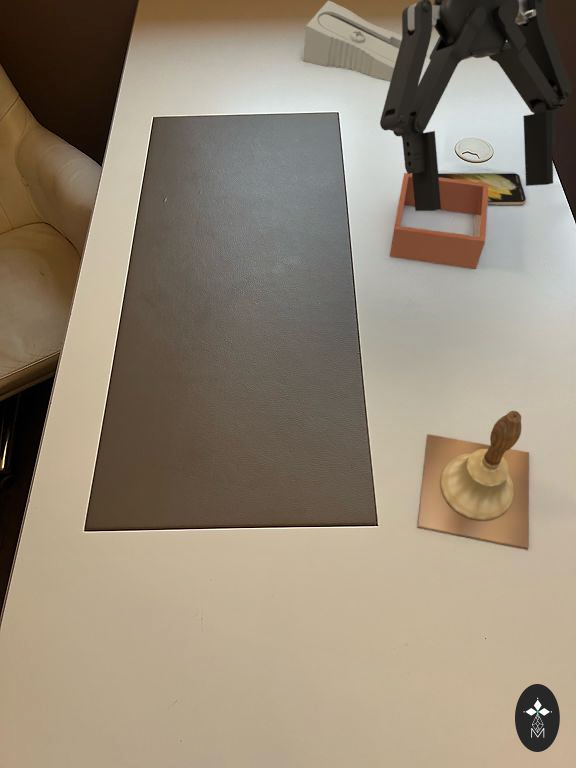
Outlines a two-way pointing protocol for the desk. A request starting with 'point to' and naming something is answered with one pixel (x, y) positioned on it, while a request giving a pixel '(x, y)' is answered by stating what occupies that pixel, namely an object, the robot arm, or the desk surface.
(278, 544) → the desk surface
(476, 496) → the hand bell
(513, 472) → the copper plate
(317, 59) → the wedge sharpener
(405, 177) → the open box
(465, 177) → the smartphone
